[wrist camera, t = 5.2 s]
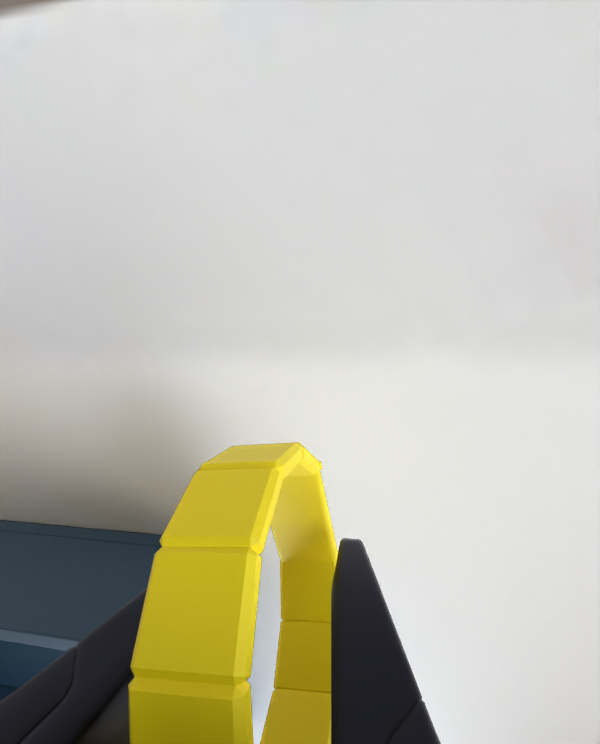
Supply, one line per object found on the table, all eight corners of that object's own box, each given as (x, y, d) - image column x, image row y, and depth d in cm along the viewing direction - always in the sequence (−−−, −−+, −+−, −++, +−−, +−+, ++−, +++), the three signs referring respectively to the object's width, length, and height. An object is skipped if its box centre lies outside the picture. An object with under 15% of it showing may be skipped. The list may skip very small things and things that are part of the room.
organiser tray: (222, 540, 17) (167, 654, 13) (252, 723, 21) (218, 854, 17) (-93, 510, 20) (-220, 595, 16) (-12, 675, 24) (-96, 776, 20)
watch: (214, 400, 9) (-38, 691, 4) (344, 389, 9) (258, 725, 3) (270, 610, 11) (157, 990, 6) (379, 615, 11) (362, 1050, 5)
